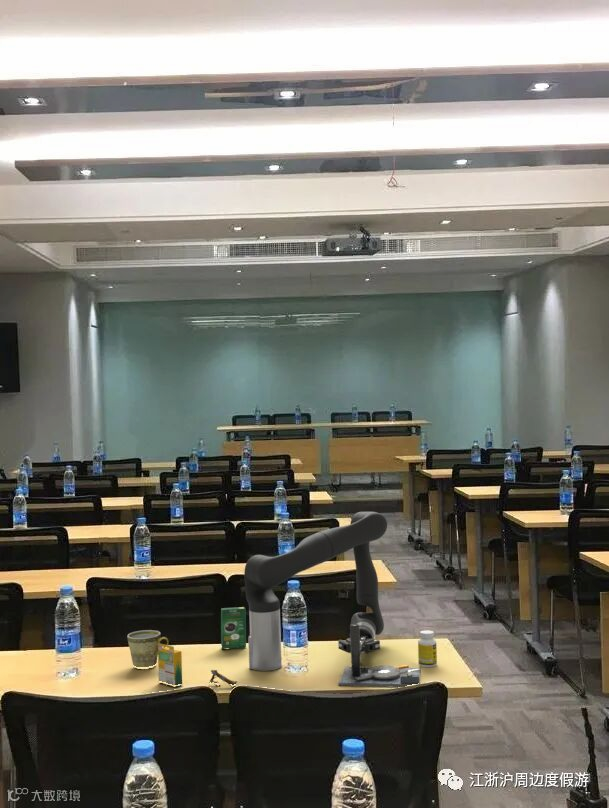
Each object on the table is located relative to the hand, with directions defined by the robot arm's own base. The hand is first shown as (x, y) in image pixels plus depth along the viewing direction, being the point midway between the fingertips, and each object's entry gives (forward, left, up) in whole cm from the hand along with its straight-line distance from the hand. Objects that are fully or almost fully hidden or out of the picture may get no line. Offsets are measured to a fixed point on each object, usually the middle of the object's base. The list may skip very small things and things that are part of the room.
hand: (355, 653), depth 243 cm
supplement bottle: (+20, +13, -7) cm, 25 cm away
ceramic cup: (-64, +7, -7) cm, 65 cm away
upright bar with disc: (+7, -1, -6) cm, 9 cm away
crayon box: (-52, -9, -7) cm, 53 cm away
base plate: (+7, 0, -7) cm, 10 cm away
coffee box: (-43, +29, -7) cm, 52 cm away
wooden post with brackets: (-37, -10, -7) cm, 39 cm away
